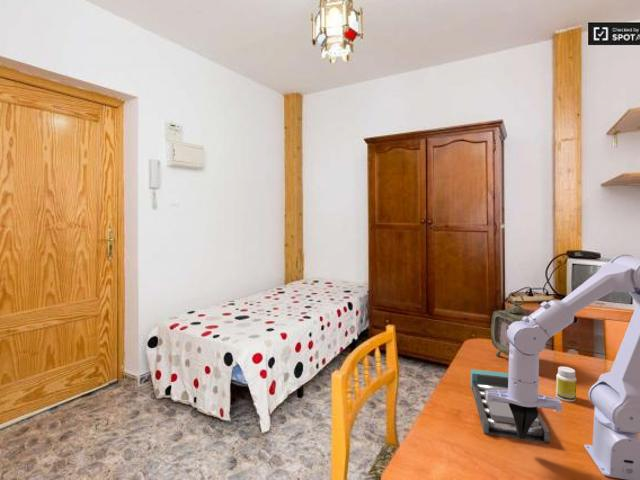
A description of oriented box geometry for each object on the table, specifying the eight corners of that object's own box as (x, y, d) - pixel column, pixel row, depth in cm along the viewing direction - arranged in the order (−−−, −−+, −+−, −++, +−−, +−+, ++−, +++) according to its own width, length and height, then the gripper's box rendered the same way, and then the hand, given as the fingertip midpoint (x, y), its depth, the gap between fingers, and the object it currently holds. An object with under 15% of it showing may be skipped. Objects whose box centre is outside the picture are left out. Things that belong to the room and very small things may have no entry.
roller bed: (549, 443, 81) (549, 432, 81) (483, 433, 85) (484, 422, 85) (523, 395, 102) (524, 386, 102) (472, 389, 106) (472, 380, 106)
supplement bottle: (579, 402, 98) (580, 373, 97) (560, 401, 99) (561, 372, 98) (570, 394, 102) (571, 366, 102) (552, 392, 103) (553, 365, 103)
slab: (538, 427, 82) (539, 421, 82) (492, 420, 85) (492, 414, 85) (525, 400, 94) (525, 395, 93) (484, 395, 96) (484, 390, 96)
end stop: (524, 396, 101) (525, 379, 101) (472, 390, 105) (472, 374, 105) (521, 390, 105) (522, 374, 104) (470, 384, 109) (471, 369, 108)
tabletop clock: (490, 354, 131) (491, 288, 129) (511, 352, 133) (513, 287, 131) (518, 371, 117) (521, 298, 115) (542, 369, 119) (545, 296, 117)
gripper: (554, 372, 79) (552, 430, 80) (484, 365, 83) (482, 420, 84) (566, 388, 72) (564, 450, 73) (489, 379, 76) (487, 438, 77)
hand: (521, 436), depth 78 cm, fingers closed
